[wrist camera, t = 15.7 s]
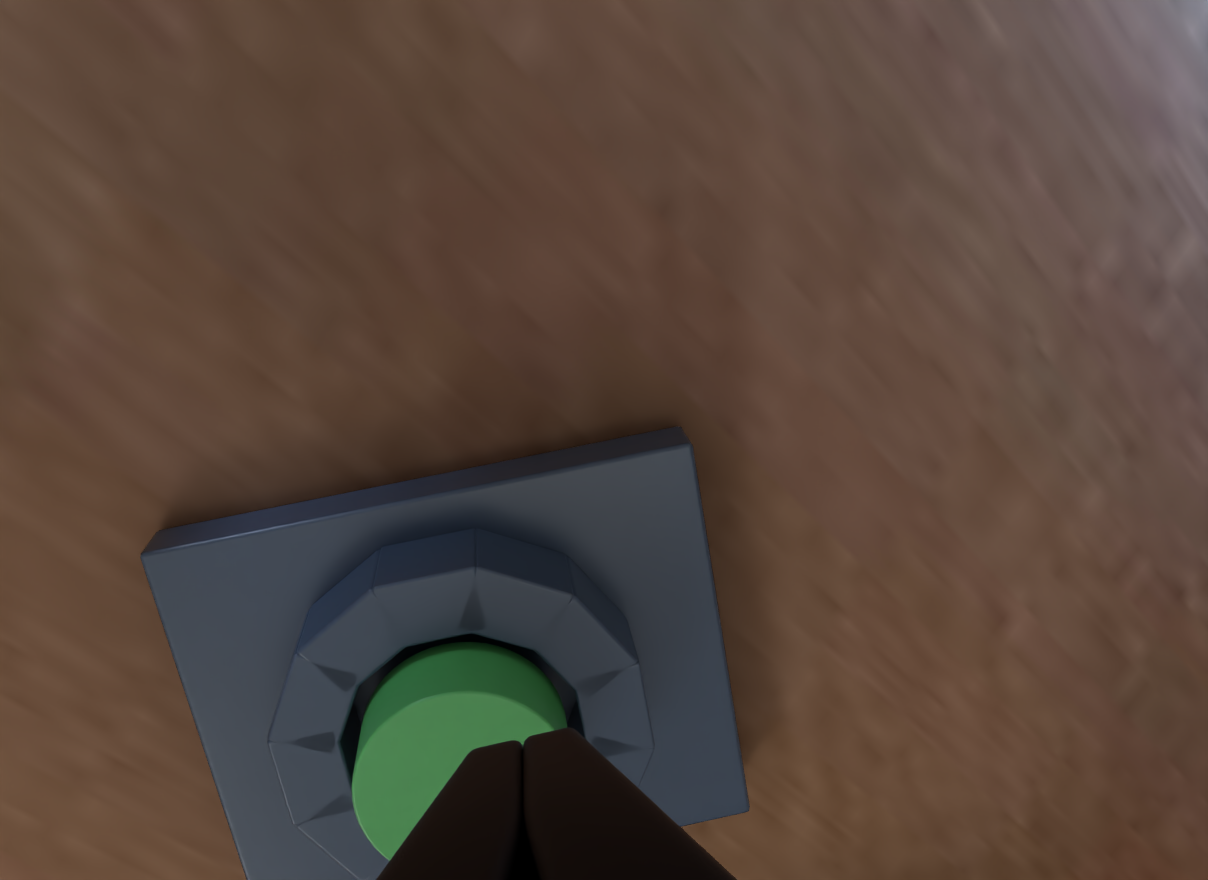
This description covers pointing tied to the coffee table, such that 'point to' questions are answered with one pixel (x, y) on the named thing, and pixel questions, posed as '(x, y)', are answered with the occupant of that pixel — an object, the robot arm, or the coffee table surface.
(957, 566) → the coffee table surface
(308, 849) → the grey button base
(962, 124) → the coffee table surface
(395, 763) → the button
